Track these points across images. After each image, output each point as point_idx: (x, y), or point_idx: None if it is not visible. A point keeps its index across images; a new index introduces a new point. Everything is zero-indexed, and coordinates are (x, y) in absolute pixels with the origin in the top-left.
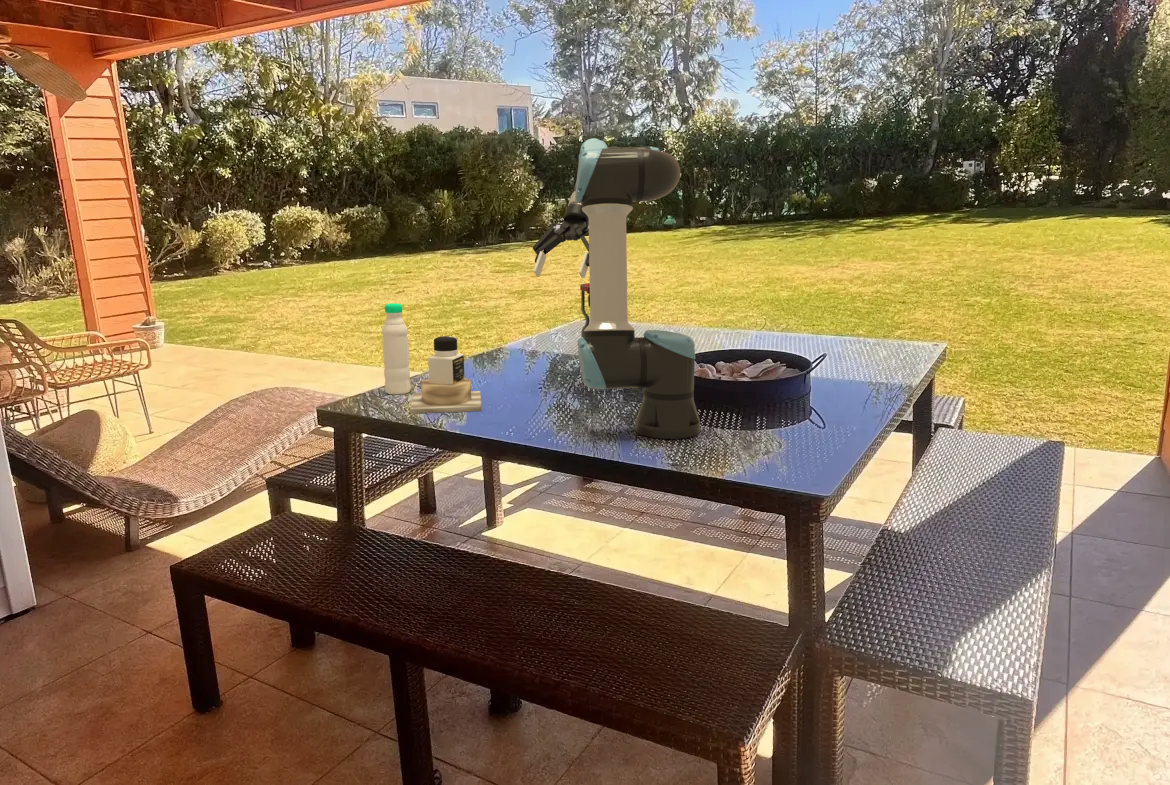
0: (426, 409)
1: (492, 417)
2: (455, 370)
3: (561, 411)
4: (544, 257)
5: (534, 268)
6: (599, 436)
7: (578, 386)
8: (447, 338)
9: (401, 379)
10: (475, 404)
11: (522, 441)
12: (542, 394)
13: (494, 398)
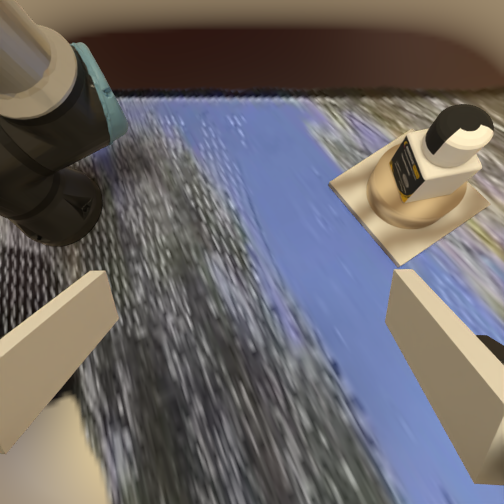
0: (393, 141)
1: (294, 166)
2: (399, 155)
3: (222, 233)
4: (464, 431)
5: (418, 279)
6: (134, 155)
7: (275, 415)
8: (451, 114)
9: None
10: (345, 187)
11: (206, 105)
12: (304, 320)
13: (361, 258)
